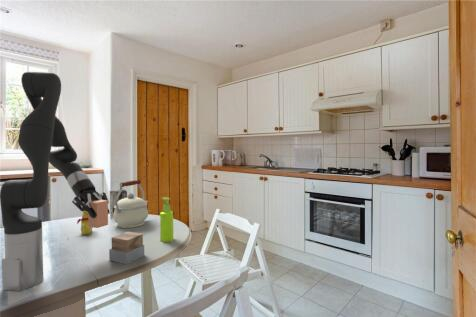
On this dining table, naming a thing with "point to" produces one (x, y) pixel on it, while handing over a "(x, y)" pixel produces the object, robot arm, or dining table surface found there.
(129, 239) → the tower top
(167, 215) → the soap dispenser
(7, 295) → the dining table surface
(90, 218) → the pillar
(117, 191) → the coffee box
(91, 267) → the dining table surface
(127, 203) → the kettle
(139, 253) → the tower base
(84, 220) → the chocolate bunny
